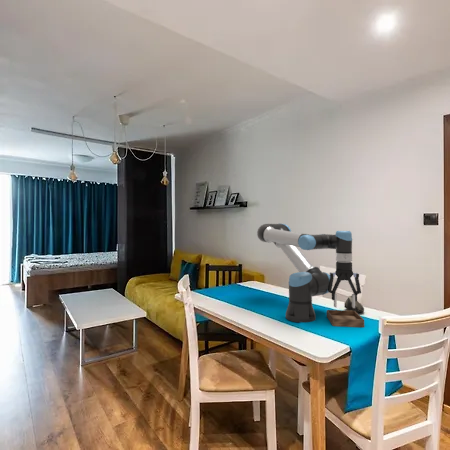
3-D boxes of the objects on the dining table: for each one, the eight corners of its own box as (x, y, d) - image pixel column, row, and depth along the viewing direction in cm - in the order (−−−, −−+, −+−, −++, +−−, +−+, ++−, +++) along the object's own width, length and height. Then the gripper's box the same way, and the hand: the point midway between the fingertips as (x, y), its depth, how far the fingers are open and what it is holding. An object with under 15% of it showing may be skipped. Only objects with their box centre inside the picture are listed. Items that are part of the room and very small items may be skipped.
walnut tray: (332, 326, 141) (332, 318, 141) (326, 316, 156) (326, 309, 156) (364, 327, 139) (364, 319, 139) (355, 317, 154) (354, 310, 154)
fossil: (368, 312, 158) (358, 296, 159) (352, 320, 160) (342, 303, 160) (362, 307, 169) (353, 291, 170) (347, 314, 170) (338, 298, 171)
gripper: (323, 262, 146) (324, 308, 146) (368, 262, 143) (369, 309, 143) (321, 260, 153) (321, 304, 153) (363, 261, 150) (364, 305, 150)
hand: (344, 307), depth 148 cm, fingers open, 8 cm apart
